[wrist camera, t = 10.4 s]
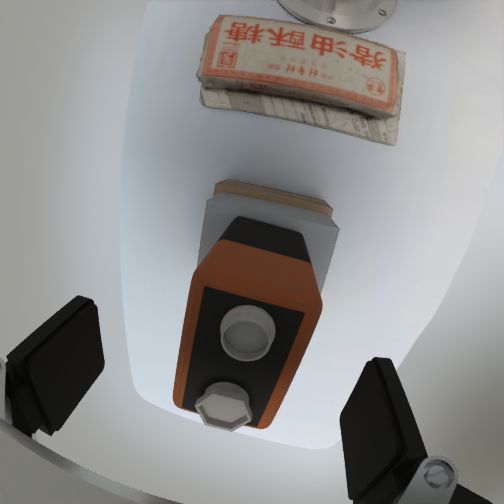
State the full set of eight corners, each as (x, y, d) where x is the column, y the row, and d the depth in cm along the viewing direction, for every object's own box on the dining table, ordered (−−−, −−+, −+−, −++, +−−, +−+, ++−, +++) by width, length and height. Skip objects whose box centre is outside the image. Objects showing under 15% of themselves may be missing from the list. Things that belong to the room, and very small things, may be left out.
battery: (211, 311, 20) (162, 423, 10) (234, 212, 18) (182, 275, 8) (274, 328, 20) (267, 450, 10) (306, 232, 18) (334, 316, 8)
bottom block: (227, 179, 27) (215, 183, 22) (324, 200, 27) (333, 209, 22) (211, 269, 30) (198, 290, 25) (300, 289, 29) (303, 314, 25)
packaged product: (184, 99, 21) (209, -4, 18) (200, 109, 25) (220, 19, 22) (410, 146, 20) (421, 40, 17) (390, 147, 25) (402, 56, 22)
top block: (223, 191, 22) (207, 200, 18) (327, 214, 22) (339, 228, 17) (207, 287, 25) (190, 316, 20) (301, 308, 25) (305, 341, 20)
